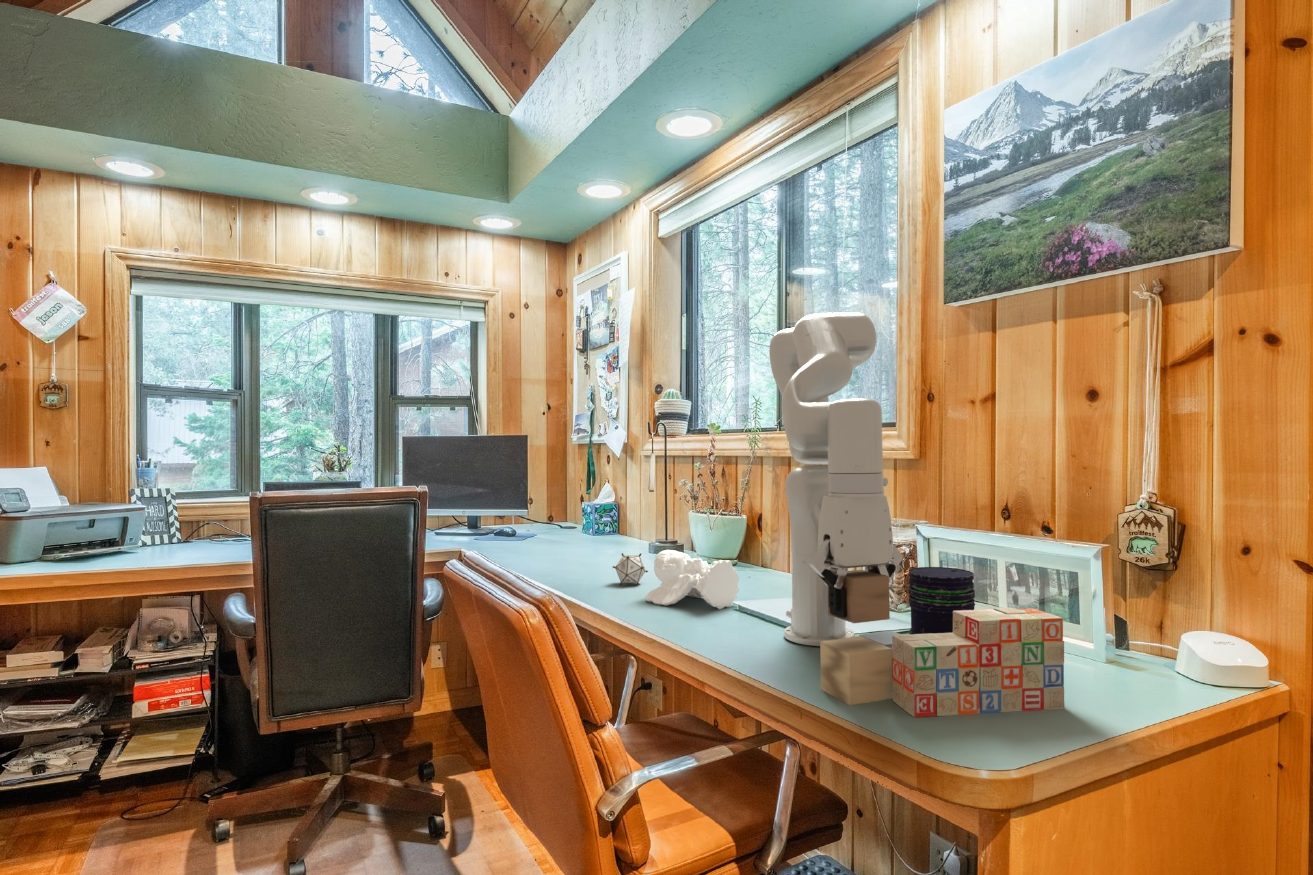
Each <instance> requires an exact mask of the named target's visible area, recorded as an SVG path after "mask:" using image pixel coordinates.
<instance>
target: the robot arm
mask: <svg viewBox="0 0 1313 875" xmlns="http://www.w3.org/2000/svg"><path fill="white" fill-rule="evenodd" d="M876 331H877V330H876V327H875V325H874V323H873V321H872V320H871V318H870V317H869V316H868V315H866V314H864V313H863V312H862V313H861V312H833V313H832V312H827V313H826V312H825V313H824V312H821V313H820V312H819V313H813V314H808V315H806V316H804V317H802V318H800V320H798V321H797V322H796V323H795V325H794V327H791V328H785V329H782V330H779V331H778V332H776V333H775V334H774V335H773V336H772V338H771V340H770V343H769V350H768V351H769V364H770V368H771V372H772V376H773V378H774V381H775V384H776V386H777V388H778V390H779V392H780V395H781V396H782V397H781V416H782V421H783V425H784V432H785V435H786V438H787V441H788V447H789V451H790V455H791V457H792V458H793V459H794V461H796V462H798V463H800V464H803V465H801V466H799V467H795V468H794V469H792V470H791V471H790V472H789V473H788V475H787V476H786V478H785V485H784V486H785V488H784V489H785V497H786V501H787V507H788V508H787V509H788V515H789V516H788V517H789V524H790V525H789V526H790V543H791V544H790V552H791V608H790V609H788V610H787V611H786V612H785V616H786V617H787V618H790V625H789V626H787V627H786V628H784V629H783V636H784V638H785V639H786V640H788V641H790V642H792V643H795V644H799V645H805V646H811V647H820V641H826V640H834V639H842V638H850V637H856V634H855V632H854V631H853V630H852V629H850V628H848V627H846V626H847V625H846V622H847V621H845V620H842V619H839V618H836V617H834V616H831V615H828V596H827V586H829V608H830V613H831V614H832V615H835V616H838V617H841V618H845V617H846V616H847V596H846V589H845V588H843V584H844V581H845V578H846V574H847V571H849V569H853V568H854V569H855V568H865V567H866V568H867V571H869V572H873V573H878V574H882V575H887V576H889V584H890V583H891V577H892V576H893V574H894V573H895V572H896V569H897V567H899V565H900V563H902V561H903V559H904V555H903V553H902V552H900V550H899V549H898V548H897V547H896V545H895V544H894V540H893V539H894V538H893V537H894V536H893V526H892V519H891V518H892V517H891V513H890V512H891V511H890V507H889V501H888V497H887V496H886V495H885V487H887V486H888V485H889V480H888V478H887V477H886V476H884V462H883V461H884V458H883V456H884V455H883V417H882V416H883V413H882V406H881V404H880V403H879V402H878V401H877V400H875V399H870V398H846V399H845V398H844V399H838V400H834V401H830V400H829V396H831V395H834V394H836V393H838V392H839V391H841V390H843V389H844V388H845V387H846V386H847V385H848V383H850V380H851V379H852V376H853V369H855V368H857V367H859V366H860V365H862V364H864V363H865V362H867V361H868V360H870V358H871V357H872V355H874V352H875V350H876V346H877V332H876ZM804 464H805V465H804ZM806 464H807V465H806ZM836 573H837V574H836ZM848 632H851V633H848Z"/></svg>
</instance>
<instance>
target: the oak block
mask: <svg viewBox="0 0 1313 875" xmlns="http://www.w3.org/2000/svg"><path fill="white" fill-rule="evenodd" d="M819 647H820V650H819V651H820V652H819V653H820V690H822V691H824V692H825V693H828V695H830V696H832V697H835V698H836V699H838V700H840V701H841V702H843V703H845V704H847V705H848V706H854V705H861V704H867V703H872V702H873V703H874V702H880V701H884V700H891V699H892V700H893V689H892V648H889V647H887V646H884V645H881V644H879V643H876V642H874V641H871V640H869V639H866V638H864V637H861V636H859V635H858V636H855V637H850V638H842V639H834V640H826V641H820V646H819Z"/></svg>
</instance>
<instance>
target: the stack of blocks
mask: <svg viewBox="0 0 1313 875" xmlns="http://www.w3.org/2000/svg"><path fill="white" fill-rule="evenodd" d="M1064 664H1065V641H1064V619H1063V617H1061V616H1057V615H1055V614H1053V613H1050V612H1045V611H1042V610H1040V609H1036V608H1033V607H1031V608H1029V607H1028V608H1015V607H997V608H995V607H994V608H993V609H992V608H988V609H987V608H985V609H974V610H960V611H953V632H952V633H936V634H933V633H929V634H913V635H912V634H910V633H909V634H901V635H892V679H893V680H892V702H894V703H895V704H896V705H898V707H900V708H901V709H903V710H904V711H905V712H906V713H907V714H909V715H911V717H913V718H923V717H924V718H925V717H935V716H937V717H945V716H946V717H947V716H948V717H949V716H957V715H958V716H961V715H962V716H963V715H964V716H965V715H979V714H991V713H992V714H993V713H1007V712H1009V713H1010V712H1011V713H1012V712H1027V711H1028V712H1029V711H1043V710H1044V711H1045V710H1046V711H1047V710H1061V709H1063V710H1064V709H1065V676H1064V675H1065V673H1064V672H1065V665H1064Z"/></svg>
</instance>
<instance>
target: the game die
mask: <svg viewBox="0 0 1313 875" xmlns="http://www.w3.org/2000/svg"><path fill="white" fill-rule="evenodd" d="M620 555H621V558H620V560H619V561H618V562H617V564H616V565H612V569H615V570H616V574H617V576H618V579H619V581H620V582H619V586H622V584H637V586H639V587H640V580H641V579H642V577H643V576H644V574H645V573H649V571H648V570H647V569H646V568H645V566H644V563H643V561H642V559H641V556H642V553H639V554H638V555H625V554H624V553H623V552H622V553H621V554H620Z"/></svg>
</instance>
